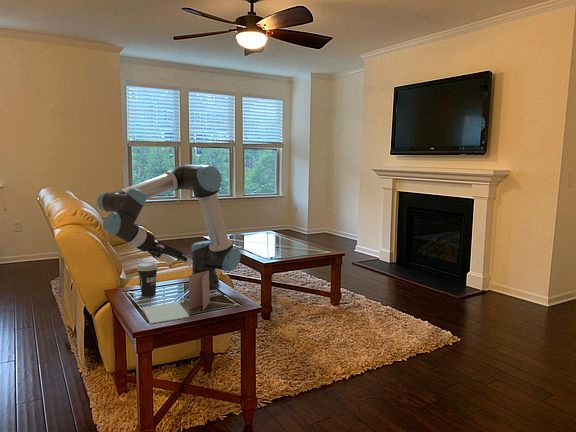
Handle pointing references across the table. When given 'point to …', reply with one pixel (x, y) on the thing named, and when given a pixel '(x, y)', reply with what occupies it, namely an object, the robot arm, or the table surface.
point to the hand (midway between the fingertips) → (181, 262)
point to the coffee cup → (147, 278)
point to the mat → (165, 312)
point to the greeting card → (199, 289)
